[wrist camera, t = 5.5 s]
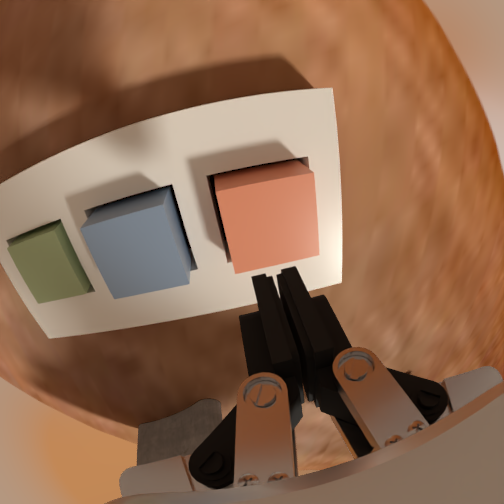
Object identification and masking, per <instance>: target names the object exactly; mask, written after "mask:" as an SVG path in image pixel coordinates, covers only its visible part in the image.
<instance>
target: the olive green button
mask: <svg viewBox="0 0 504 504" xmlns="http://www.w3.org/2000/svg"><path fill="white" fill-rule="evenodd" d="M7 250H8V252H9V254H10V256H11V258H12V259H13V261H14V263H15V265H16V267H17V269H18V271H19V272H20V274H21V276H22V278H23V280H24V281H25V283H26V285H27V286H28V288H29V290H30V291H31V293H32V295H33V296H34V298H35V300H36V301H37V303H38V304H40V303H45V302H50V301H55V300H60V299H64V298H69V297H74V296H79V295H83V294H86V293H87V291H88V289H89V287H90V285H91V282H90V280H89V278H88V276H87V274H86V273H85V271H84V269H83V267H82V265H81V263H80V261H79V259H78V257H77V254H76V252H75V250H74V248H73V246H72V244H71V242H70V239H69V237H68V235H67V233H66V230H65V228H64V226H63V223H62V221H61V219H58V220H56V221H53V222H50V223H48V224H45V225H42V226H40V227H37V228H35V229H32V230H30V231H27V232H25V233H22V234H20V235H19V236H18V237H17V238H16V239H15V240H14V241H13V242H12V243H11V245H10V246H9V247H8V248H7Z"/></svg>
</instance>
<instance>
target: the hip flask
mask: <svg viewBox="0 0 504 504" xmlns="http://www.w3.org/2000/svg"><path fill="white" fill-rule="evenodd" d="M221 422H222V413H221V403H220V402H219V401H217V400H214V399H203V400H200V401H198V402H197V403H195V404H194V405H192V406H191V407H189V408H187V409H185V410H183V411H181V412H179V413H177V414H174V415H172V416H169V417H166V418H163V419H160V420H157V421H153V422H149V423H144V424H140V425H139V430H138V449H137V466H139V465H143V464H148V463H152V462H156V461H160V460H164V459H168V458H172V457H176V456H179V455H181V456H182V457H183V456H187V455H190V454H192V453H193V452H194V450H195V449H196V448H197V447H198V446H199V445H200V444H201V443H202V442H203V441H204V440H205V439H206V438H207V437H208V436H209V435H210V434H211V433H212V431H213V430H214V429H215V428H216V427H217V426H218V425H219V424H220V423H221Z"/></svg>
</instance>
